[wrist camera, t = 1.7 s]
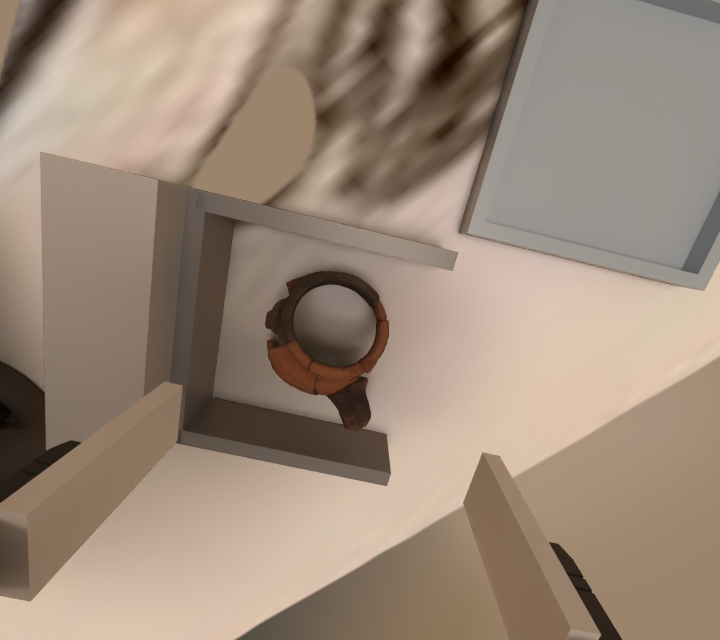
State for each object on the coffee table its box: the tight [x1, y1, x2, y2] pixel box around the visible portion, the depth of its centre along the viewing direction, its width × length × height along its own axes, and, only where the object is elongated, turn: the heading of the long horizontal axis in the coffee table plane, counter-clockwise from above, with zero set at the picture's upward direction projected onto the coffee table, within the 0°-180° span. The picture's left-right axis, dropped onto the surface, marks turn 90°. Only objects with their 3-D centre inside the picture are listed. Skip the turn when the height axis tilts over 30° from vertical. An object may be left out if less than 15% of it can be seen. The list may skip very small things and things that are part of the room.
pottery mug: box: [265, 271, 389, 431], centre depth 26 cm, size 12×10×8 cm
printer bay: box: [40, 152, 458, 486], centre depth 24 cm, size 23×18×8 cm
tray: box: [459, 0, 720, 291], centre depth 23 cm, size 18×17×2 cm
